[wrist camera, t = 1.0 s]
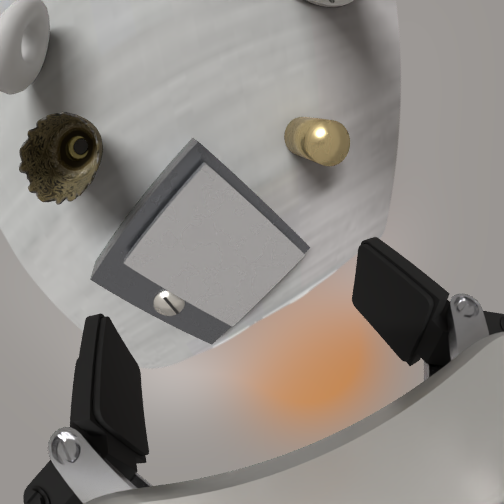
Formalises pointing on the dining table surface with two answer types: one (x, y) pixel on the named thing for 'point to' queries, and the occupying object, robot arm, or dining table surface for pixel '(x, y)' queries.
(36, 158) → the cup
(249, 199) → the scale
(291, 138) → the brass weight
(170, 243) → the scale pan
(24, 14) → the grey rounded slab
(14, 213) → the dining table surface
